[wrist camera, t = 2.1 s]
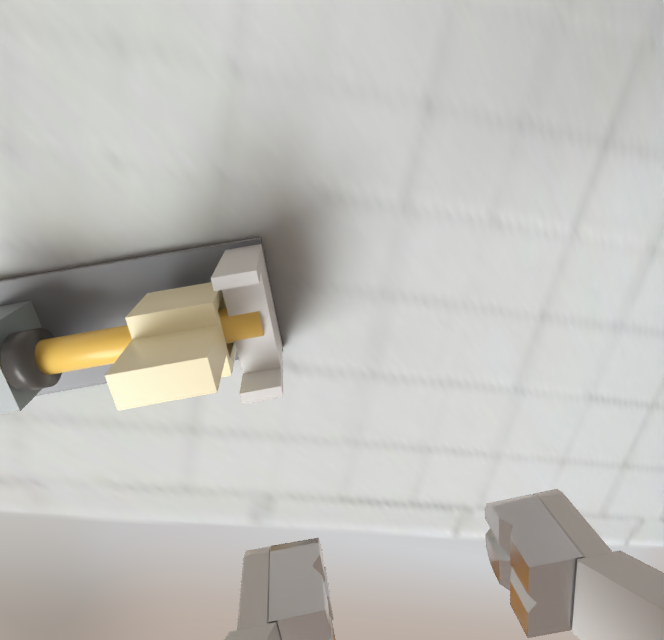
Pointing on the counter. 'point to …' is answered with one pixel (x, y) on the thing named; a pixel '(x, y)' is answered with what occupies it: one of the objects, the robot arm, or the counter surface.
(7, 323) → the linear slide clamp
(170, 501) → the counter surface
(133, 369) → the notched stepped block
